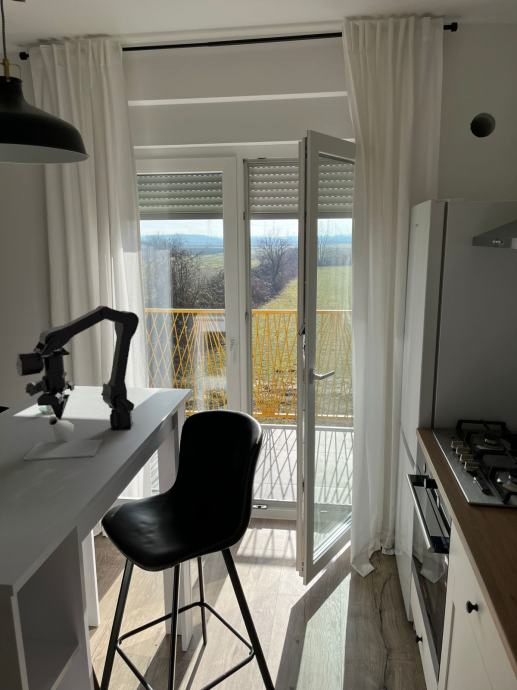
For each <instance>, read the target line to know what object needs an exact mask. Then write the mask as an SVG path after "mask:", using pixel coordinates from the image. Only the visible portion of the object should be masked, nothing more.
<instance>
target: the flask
mask: <svg viewBox="0 0 517 690" xmlns="http://www.w3.org/2000/svg"><path fill="white" fill-rule="evenodd" d="M47 425H48V426H50V428H51V429H50V437H51V438H52V439H54V440H55V442H61V441H69V439H70V438H71V437H72V436H73V435H74V431H75V430H74V429H75V424H73V423H72V422H70V421H69V420H66V419H60V420H59V419H58V418H57V417H56V416H55V415H52V416H50V417H49V418H48V419H47Z"/></svg>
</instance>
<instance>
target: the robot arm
mask: <svg viewBox="0 0 517 690" xmlns="http://www.w3.org/2000/svg"><path fill="white" fill-rule="evenodd" d="M104 320H106V321H110V322H112V323H113V322H114V325H113V327H114V331H115V335H116V338H115V339H116V340H115V346H114V353H113V359H112V365H111V372H110V379H109V381H108V382H107V383H102V392H101V394H100V396H102V401H103V402H104V403H105V404H106V405H107V406H108V407H109V408H110V409H111V410H110V415H109V423H110V425H109V426H110V427H111V428H110V430H111V431H114V430H119V431H121V430H130V429H132V427H133V425H134V421H133V412H132V411H134V409H135V404H134V402H132V401H130V400H129V399H128V388H127V386H126V375H127V369H128V367H127V366H128V362H129V356H130V355H129V354H130V347H131V341H132V338H133V337H134V336H135V334H136V332H137V329H138V326H139V322H140V318H139V316H138V315H137V313H135V312H132V311H126V310H117V309H114V308H111V307H109V306H108V305H107V306H106V305H98V306H97V307H96V308H94V309H93V310H91V311H89V312H86V313H85V314H83V315H81V316H79V317H77V318H75V319H73V320H72V321H69V322H67V323H65V324H63V325H59V326H54V327H51V328H48V329H44V330H42V332H40V334H39V339H38V340H39V341H38V342H37V344H36V345H35V346H34V348H33V350H32V351H31V352H30V351H29V352H20V353H17V358H16V363H15V367H16V372H17V375H18V376H19V377H25V376H31V375H37V374H41V372H43V371H44V375H42V377H41V379H39V380H37V381H35V382H34V381H31V382H28V383H27V384H26V386H25V393H26V394H28V395H29V396H30V397H33V396H35V395H36V394H39V393H41V392H42V394H41V395H40V396H38V398H36V401H37V406H39V407H46V406H47V405H51V407H52V409H53V411H54V413H53V414H54V416H55V417H57V418H58V419H59V420H62V418H63V415H64V412H65V410H66V406H67V403H68V401H69V398H70V394H69V393H68V394H67V393H66V392H65V391H66V390H70V392H73V391H74V390H75V382H73V381H72V380H66V376H67V375H68V374H67V371H65V362H64V356H69V355H70V354H71V352H69V351H68V350H67V349H66V348H65V347H64V346H66V345H67V344H68V343H69V342H70V341H71V340H72V339H73V338H74V337H75V336H76V335H78V334H80V333H82V332H84V331H86V330H88V329H89V328H91V327H93V326H95V325H97V324H98V323H100V322H102V321H104Z"/></svg>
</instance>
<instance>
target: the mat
mask: <svg viewBox="0 0 517 690" xmlns="http://www.w3.org/2000/svg"><path fill="white" fill-rule="evenodd" d="M103 441H104V439H85V440H82V439H80V440H67V441H47V442H46V441H42V442H37V443H36V444H35V445H34V446H33V448H31V450H30V451H28V453H27V454H26V456H24V458H23V461H31V460H33V461H34V460H53V459H69V458H86V457H87V458H89V457H95V455H96V454H97V453H98V450H99V449H100V446H101V445H102V443H103Z"/></svg>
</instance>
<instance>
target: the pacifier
mask: <svg viewBox="0 0 517 690" xmlns="http://www.w3.org/2000/svg"><path fill="white" fill-rule="evenodd" d="M38 410H39V411H40V412H42V413H44V414H46V415H49V414H50V415H52V414H55V413H54V411H53V409H52V407H51V405H47V406H39V407H38Z"/></svg>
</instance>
